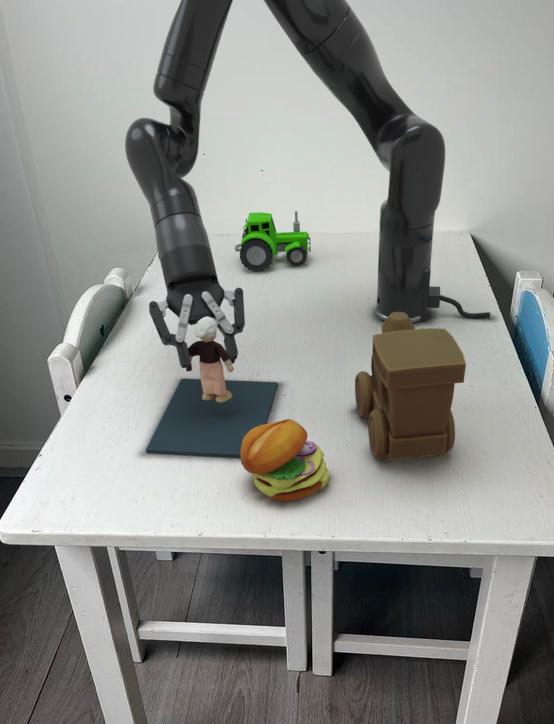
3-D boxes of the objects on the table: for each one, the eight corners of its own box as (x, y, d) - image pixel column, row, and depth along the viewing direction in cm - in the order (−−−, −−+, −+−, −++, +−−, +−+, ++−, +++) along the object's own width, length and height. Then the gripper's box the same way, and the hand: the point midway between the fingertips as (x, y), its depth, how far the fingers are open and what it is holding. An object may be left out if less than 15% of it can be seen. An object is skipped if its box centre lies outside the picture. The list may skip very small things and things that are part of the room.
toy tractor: (311, 270, 155) (310, 222, 149) (234, 273, 156) (229, 225, 150) (310, 250, 164) (309, 204, 158) (237, 253, 164) (233, 207, 158)
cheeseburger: (325, 510, 94) (304, 447, 88) (248, 517, 98) (222, 458, 92) (336, 462, 102) (317, 401, 96) (264, 470, 105) (242, 412, 100)
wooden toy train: (460, 470, 100) (474, 361, 89) (376, 479, 99) (381, 370, 89) (422, 393, 115) (431, 292, 105) (350, 400, 115) (351, 300, 104)
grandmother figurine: (241, 391, 111) (235, 313, 103) (235, 405, 108) (228, 326, 100) (192, 387, 113) (182, 310, 105) (184, 401, 110) (174, 322, 102)
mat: (277, 385, 119) (277, 381, 119) (255, 458, 104) (255, 455, 103) (181, 381, 122) (181, 378, 121) (146, 453, 106) (145, 449, 106)
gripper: (135, 250, 102) (161, 367, 100) (236, 235, 105) (263, 349, 103) (136, 272, 109) (160, 382, 108) (231, 258, 112) (256, 365, 110)
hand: (211, 365), depth 105 cm, fingers closed on grandmother figurine, 5 cm apart
